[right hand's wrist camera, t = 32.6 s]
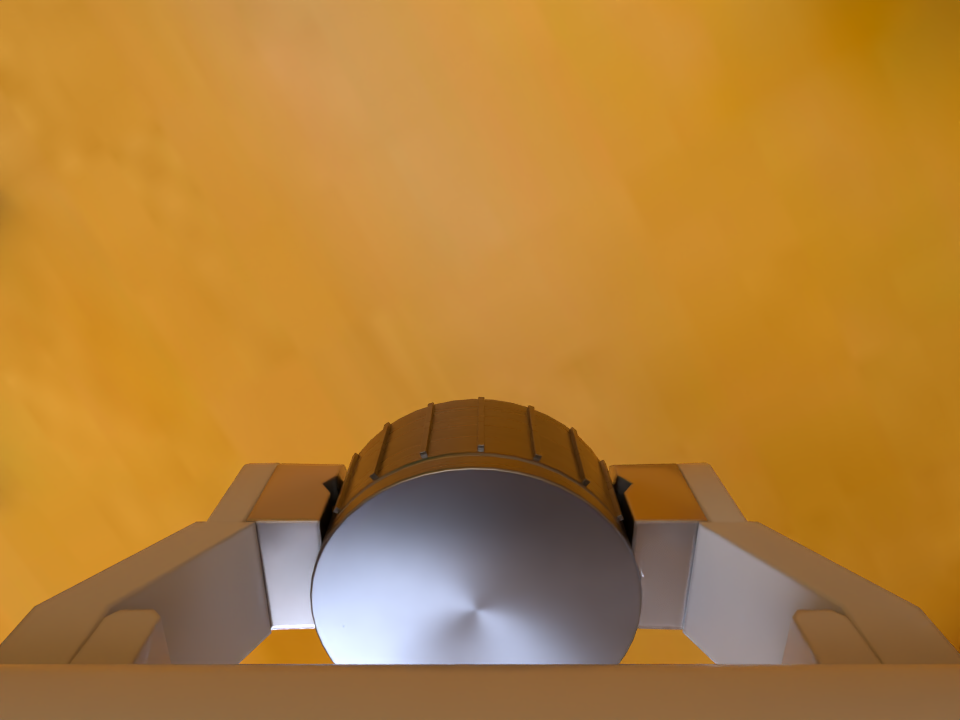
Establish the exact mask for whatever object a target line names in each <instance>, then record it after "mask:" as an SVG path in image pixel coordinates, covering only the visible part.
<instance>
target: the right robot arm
mask: <svg viewBox="0 0 960 720" xmlns="http://www.w3.org/2000/svg"><path fill="white" fill-rule="evenodd" d="M608 472H609V475H610V478H611V481H612V484H613V487H614V490H615V493H616V496H617V499H618V502H619V505H620V509H621V512H622V515H623V518H624V519H623V523H624V526H625V529H626V533H627V536H628V539H629V542H630V545H631V548H632V551H633V554H634V557H635V560H636V563H637V566H638V569H639V573H640V579H641V585H642V608H641V614H640V620H639V624H638V627H637V628H644V629H681V630H683V633H684V634H685V635H686V636H687V637H688V638H689V639H690V640H691V641H693V642H694V643H695V644H696V645H697V646H698V647H699V648H700V649H701V650H702V651H703V652H704V653H705V654H706V655H707V656H708V657H709V658H710V659H711V660H712V661H714V662H715V663H716V664H239V663H240V662H241V661H242V660H243V659H244V658H245V657H246V656H247V655H248V654H249V653H250V652H251V651H253V650H254V649H255V648H256V647H257V646H258V645H259V644H260V643H261V642H262V641H263V640H264V639H265V638H266V637H267V636H268V635H269V634H271V630H273V629H309V628H315V625H314V621H313V617H312V613H311V602H310V588H311V577H312V573H313V569H314V566H315V562H316V559H317V556H318V553H319V550H320V548H321V545H322V542H323V539H324V536H325V533H326V531H327V528H328V525H329V522H330V519H331V517H332V514H333V513H332V507H333V506H335V505H336V502H337V499H338V496H339V493H340V491H341V488H342V485H343V482H344V479H345V477H346V474H347V470H346V468H345V466H344V465H340V464H287V463H282V464H279V463H250V464H246V465H244V466H243V467H242V469H241V470H240V472H239V473H238V475H237V476H236V478H235V479H234V481H233V483H232V484H231V486H230V487H229V489H228V490H227V492H226V493H225V495H224V496H223V498H222V499H221V501H220V502H219V504H218V505H217V507H216V508H215V510H214V511H213V513H212V514H211V516H210V517H209V519H208V520H207V522H195V523H193V524H191V525H189V526H187V527H185V528H184V529H182V530H180V531H178V532H176V533H174V534H172V535H170V536H168V537H166V538H164V539H163V540H161V541H159V542H157V543H155V544H153V545H151V546H149V547H147V548H145V549H143V550H142V551H140V552H138V553H136V554H134V555H132V556H130V557H128V558H126V559H124V560H122V561H121V562H119V563H117V564H115V565H113V566H111V567H109V568H107V569H105V570H103V571H101V572H100V573H98V574H96V575H94V576H92V577H90V578H88V579H86V580H84V581H82V582H81V583H79V584H77V585H75V586H73V587H71V588H69V589H67V590H65V591H63V592H61V593H60V594H58V595H56V596H54V597H52V598H50V599H48V600H46V601H44V602H42V603H40V604H39V605H37V606H35V607H34V608H33V609H32V610H31V611H30V612H29V613H28V614H27V615H26V617H25V618H24V619H23V620H22V621H21V622H20V623H19V624H18V625H17V627H16V628H15V629H14V630H13V631H12V632H11V633H10V634H9V636H8V637H7V638H6V639H5V640H4V641H3V642H2V643H1V644H0V720H960V654H959V652H958V651H957V650H956V649H955V648H954V647H953V646H952V644H951V643H950V642H949V641H948V640H947V639H946V638H945V636H944V635H943V634H942V633H941V632H940V631H939V630H938V628H937V627H936V626H935V625H934V624H933V623H932V622H931V620H930V619H929V618H928V617H927V616H926V615H925V613H924V612H923V611H922V610H921V609H920V608H919V607H917V606H915V605H913V604H912V603H910V602H908V601H906V600H904V599H902V598H900V597H898V596H896V595H895V594H893V593H891V592H889V591H887V590H885V589H883V588H881V587H879V586H878V585H876V584H874V583H872V582H870V581H868V580H866V579H864V578H863V577H861V576H859V575H857V574H855V573H853V572H851V571H849V570H847V569H846V568H844V567H842V566H840V565H838V564H836V563H834V562H832V561H830V560H829V559H827V558H825V557H823V556H821V555H819V554H817V553H815V552H814V551H812V550H810V549H808V548H806V547H804V546H802V545H800V544H798V543H797V542H795V541H793V540H791V539H789V538H787V537H785V536H783V535H781V534H780V533H778V532H776V531H774V530H772V529H770V528H768V527H766V526H765V525H763V524H761V523H759V522H747V520H746V519H745V517H744V516H743V514H742V513H741V511H740V510H739V508H738V507H737V505H736V504H735V502H734V501H733V499H732V498H731V496H730V494H729V493H728V491H727V490H726V488H725V487H724V485H723V484H722V482H721V481H720V479H719V478H718V476H717V475H716V473H715V472H714V470H713V469H712V467H711V466H710V465H709V464H707V463H684V464H638V465H612V466H609V471H608Z"/></svg>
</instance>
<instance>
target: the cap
mask: <svg viewBox="0 0 960 720" xmlns="http://www.w3.org/2000/svg"><path fill="white" fill-rule="evenodd" d="M332 513H333V514H332V517H331V519H330V522H329V525H328V528H327V531H326V533H325V536H324V539H323V542H322V545H321V548H320V550H319V553H318V556H317V559H316V562H315V566H314V569H313V573H312V577H311V588H310V602H311V613H312V617H313V621H314V625H315V629H316V631H317V634H318V636H319V638H320V641H321V643H322V645H323V647H324V649H325V650H326V652H327V654H328V655H329V657H330V659H331V660H332V661H333V662H334V664H619V663H620V661H621V660H622V659H623V657H624V656H625V654H626V653H627V651H628V649H629V647H630V645H631V643H632V641H633V639H634V636H635V633H636V630H637V627H638V624H639V620H640V614H641V608H642V585H641V579H640V573H639V569H638V566H637V563H636V560H635V557H634V554H633V551H632V548H631V545H630V542H629V539H628V536H627V533H626V529H625V526H624V523H623V519H624V518H623V515H622V512H621V509H620V505H619V502H618V499H617V496H616V493H615V490H614V487H613V484H612V481H611V478H610V475H609V472H608V469H607V466H606V463H605V462H604V460H602V461H600V460H599V459H598V458H597V456H596V455H595V454H594V452H593V451H592V450H591V448H590V447H589V446H588V445H587V444H586V443H585V442H584V441H583V440H582V439H581V438H580V437H579V436H578V435H577V431H576V430H575V429H574V428H573V427H572V428H571V429H569V428H567V427H566V426H565V425H563V424H562V423H560V422H558V421H556V420H555V419H553V418H551V417H550V416H548V415H545V414H543V413H541V412H538V411H536V410H534V407H533V406H530V405H529V406H528V407H525V406H521V405H518V404H514V403H510V402H503V401H497V400H484V397H478V399H468V400H455V401H450V402H445V403H440V404H435V405H434V403H430V404H428V407H426V408H423V409H420V410H417V411H415V412H413V413H410V414H408V415H406V416H404V417H402V418H400V419H398V420H397V421H395V422H394V423H392V424H390V423H389V422H388V423H386V424H385V425H384V428H383V430H382V431H381V432H380V433H379V434H377V435H376V436H375V437H374V438H373V439H372V440H370V442H369V443H368V444H367V445H366V446H365V447H364V448H363V450H362V451H361V452H360V453H359V455H358V454H356V453H355V454H354V455H353V457H352V460H351V463H350V465H349V468H348V471H347V474H346V477H345V479H344V482H343V485H342V488H341V491H340V493H339V496H338V499H337V502H336V505H335V506H333V507H332Z"/></svg>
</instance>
